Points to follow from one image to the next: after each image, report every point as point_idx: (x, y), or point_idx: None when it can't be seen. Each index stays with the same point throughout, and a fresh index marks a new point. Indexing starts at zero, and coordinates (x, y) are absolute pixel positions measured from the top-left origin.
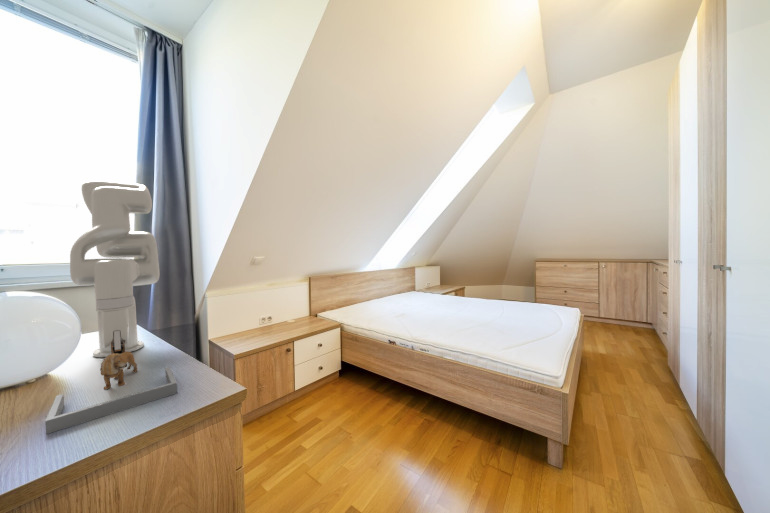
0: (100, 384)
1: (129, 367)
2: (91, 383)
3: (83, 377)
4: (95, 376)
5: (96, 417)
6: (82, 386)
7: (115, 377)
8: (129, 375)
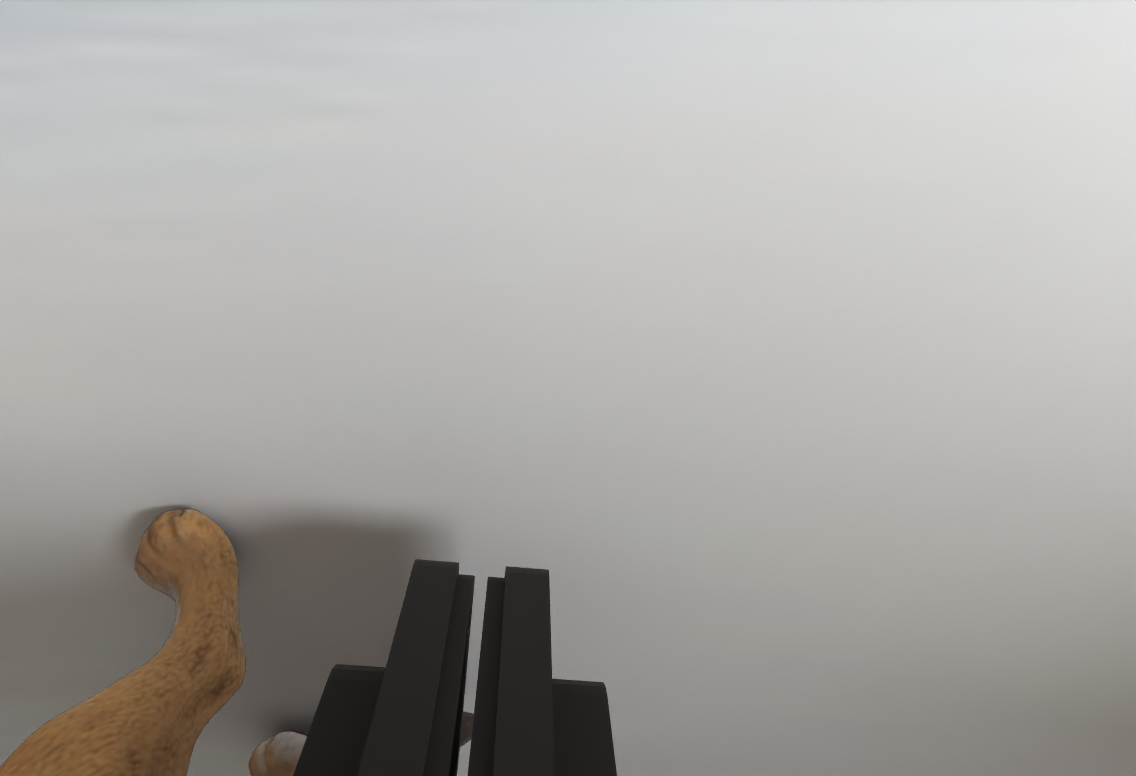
0: (74, 313)
1: None
2: (287, 195)
3: (875, 102)
4: (702, 281)
5: None
6: (233, 49)
7: (146, 537)
8: None
